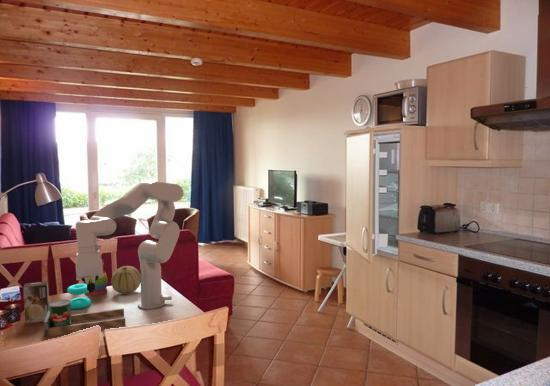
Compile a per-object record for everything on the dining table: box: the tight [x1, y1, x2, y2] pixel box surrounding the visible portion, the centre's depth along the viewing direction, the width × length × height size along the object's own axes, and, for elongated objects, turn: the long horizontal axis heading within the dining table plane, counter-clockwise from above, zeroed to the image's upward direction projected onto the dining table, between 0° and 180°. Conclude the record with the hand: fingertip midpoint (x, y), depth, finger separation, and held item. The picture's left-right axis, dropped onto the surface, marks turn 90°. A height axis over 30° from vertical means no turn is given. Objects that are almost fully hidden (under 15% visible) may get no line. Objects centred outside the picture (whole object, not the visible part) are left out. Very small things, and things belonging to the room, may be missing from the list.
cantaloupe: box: [110, 265, 141, 295], centre depth 215 cm, size 15×15×15 cm
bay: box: [43, 308, 126, 338], centre depth 172 cm, size 30×13×6 cm, turn 113°
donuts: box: [67, 283, 92, 310], centre depth 195 cm, size 10×10×10 cm
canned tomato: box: [49, 299, 72, 328], centre depth 168 cm, size 8×8×11 cm
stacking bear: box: [84, 259, 109, 297], centre depth 215 cm, size 11×10×18 cm
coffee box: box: [22, 280, 50, 324], centre depth 178 cm, size 9×6×16 cm
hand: (91, 291), depth 173 cm, fingers closed
